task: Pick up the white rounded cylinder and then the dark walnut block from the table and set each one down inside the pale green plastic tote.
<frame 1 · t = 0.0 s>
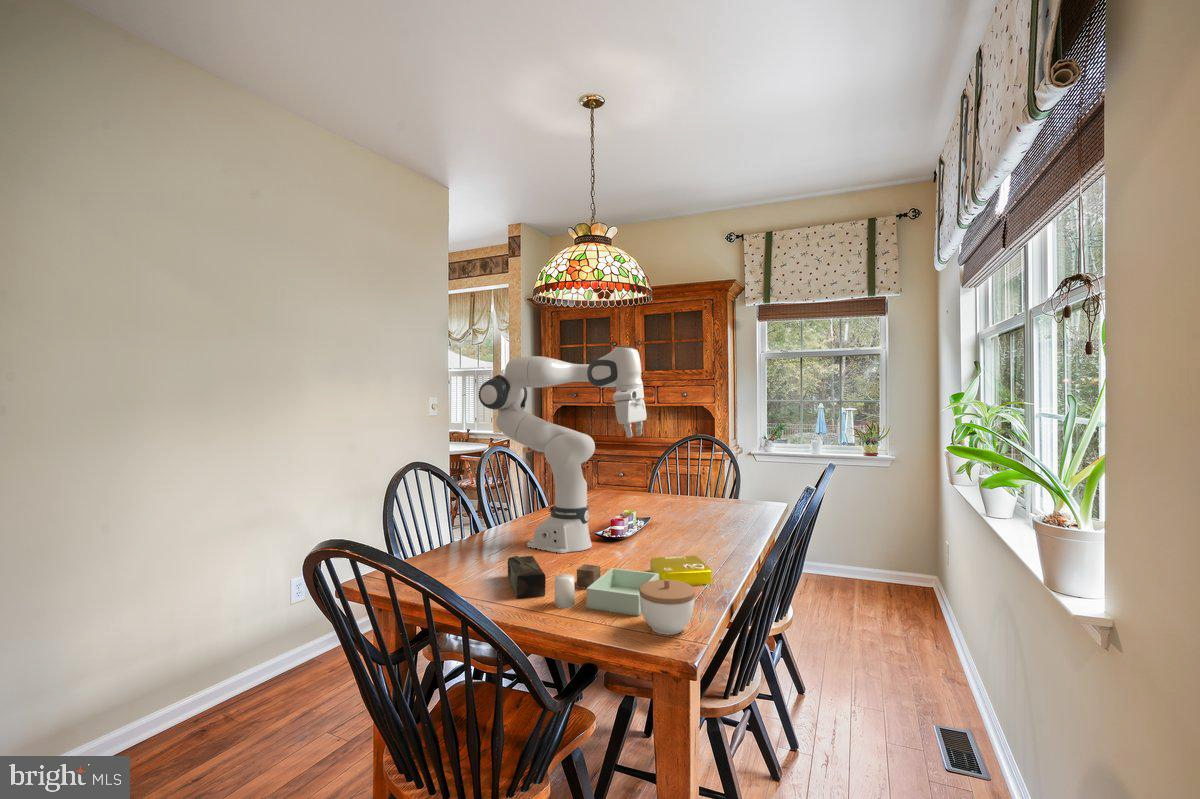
hand: (634, 436, 192), 39 cm above the table, tool pointing down, fingers open, 8 cm apart
lidded bowl: (667, 629, 133), on the table
element tile: (680, 579, 169), on the table
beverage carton: (525, 587, 161), on the table
white rounded cylinder: (564, 604, 148), on the table
walnut block: (588, 585, 162), on the table
tote: (624, 599, 151), on the table
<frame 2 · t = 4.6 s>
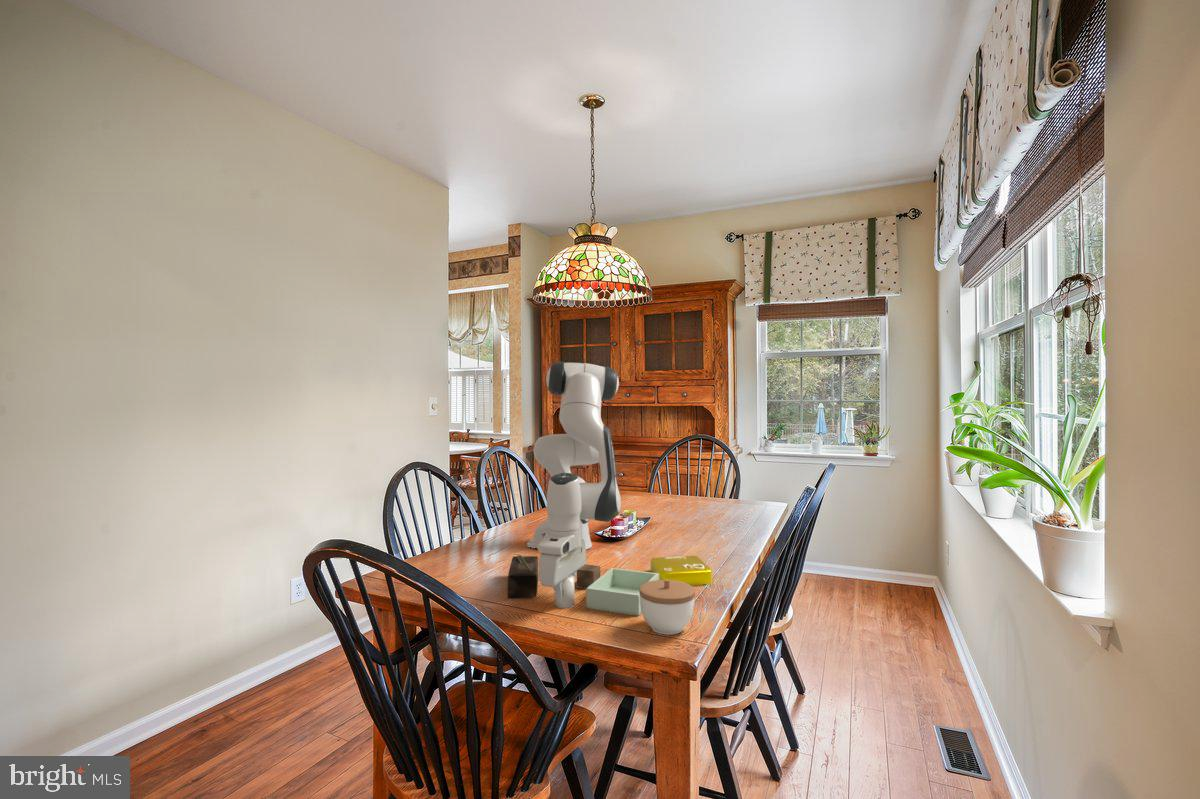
hand: (564, 593, 148), 3 cm above the table, tool pointing down, fingers closed on white rounded cylinder, 5 cm apart
white rounded cylinder: (564, 604, 148), on the table, touching gripper
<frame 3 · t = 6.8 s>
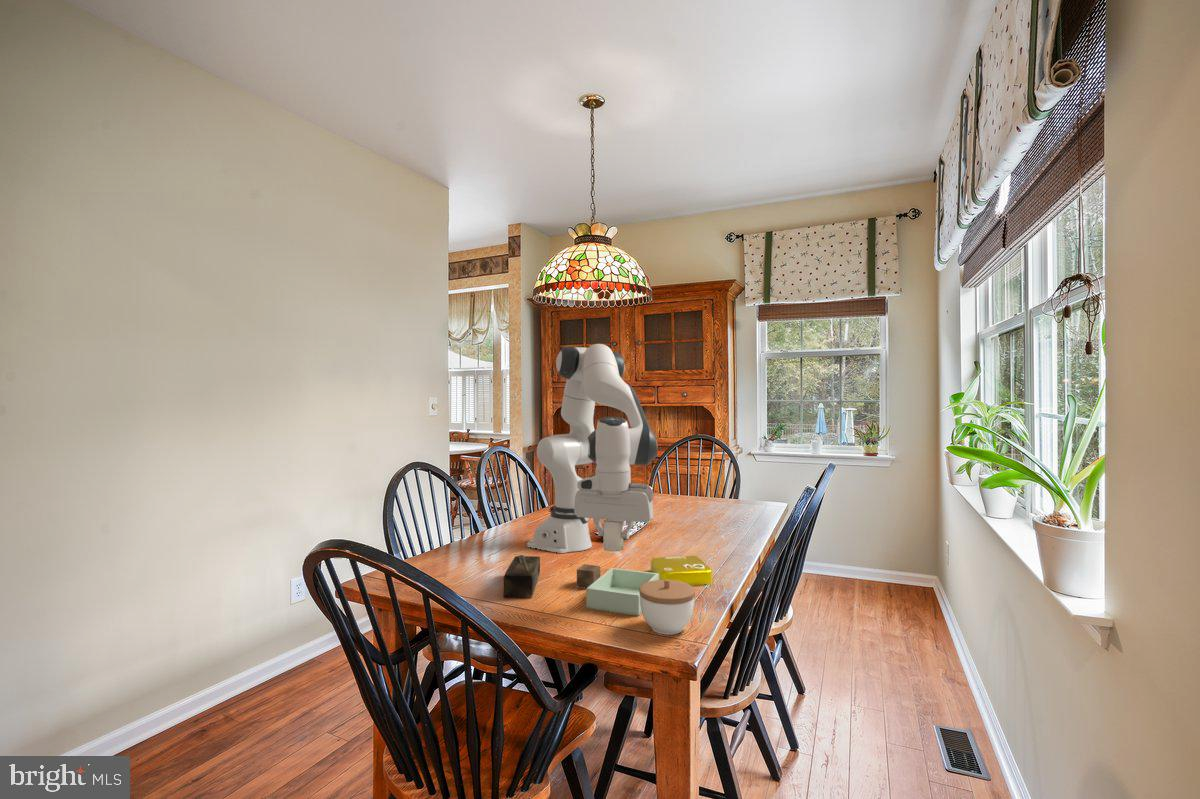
hand: (613, 537, 146), 17 cm above the table, tool pointing down, fingers closed on white rounded cylinder, 5 cm apart
white rounded cylinder: (613, 548, 146), point 14 cm above the table, touching gripper
when the fingers open (5 cm above the table, at t = 9.3 s): white rounded cylinder drops 1 cm, resting on tote.
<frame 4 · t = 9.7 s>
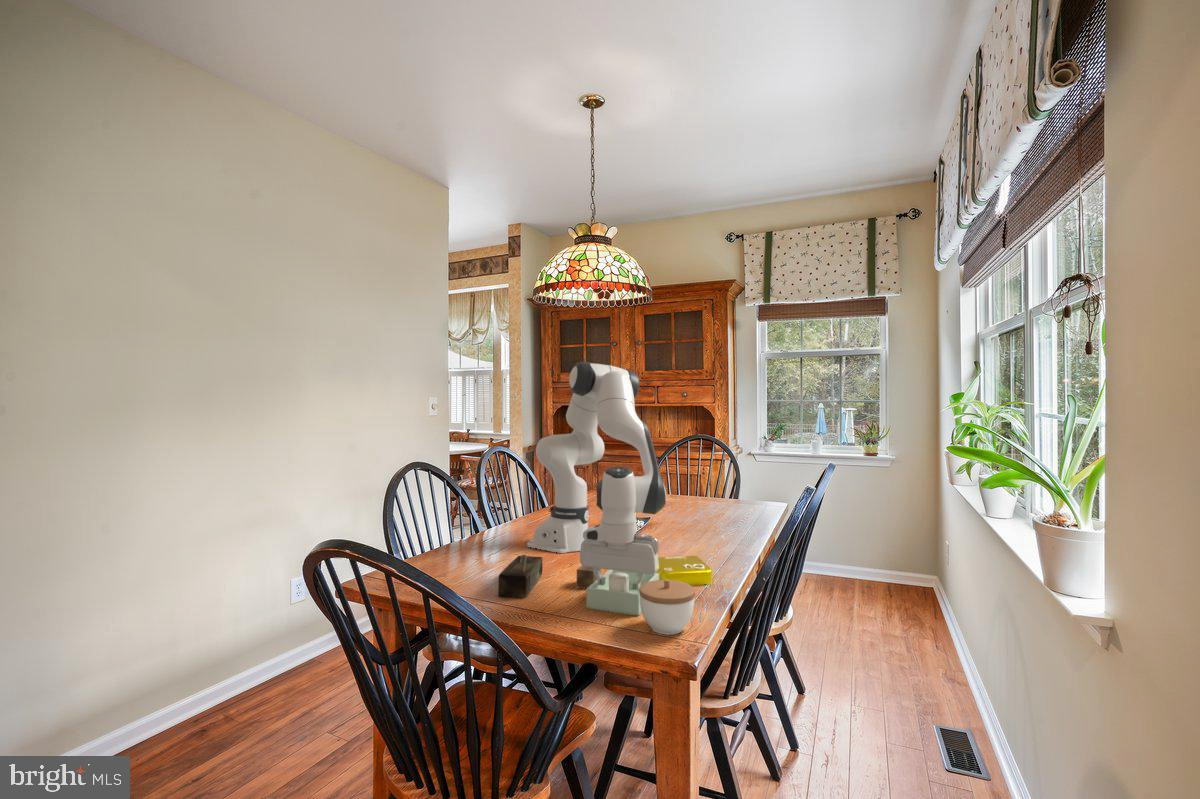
hand: (618, 587, 147), 5 cm above the table, tool pointing down, fingers open, 8 cm apart
white rounded cylinder: (618, 603, 147), point 1 cm above the table, touching tote
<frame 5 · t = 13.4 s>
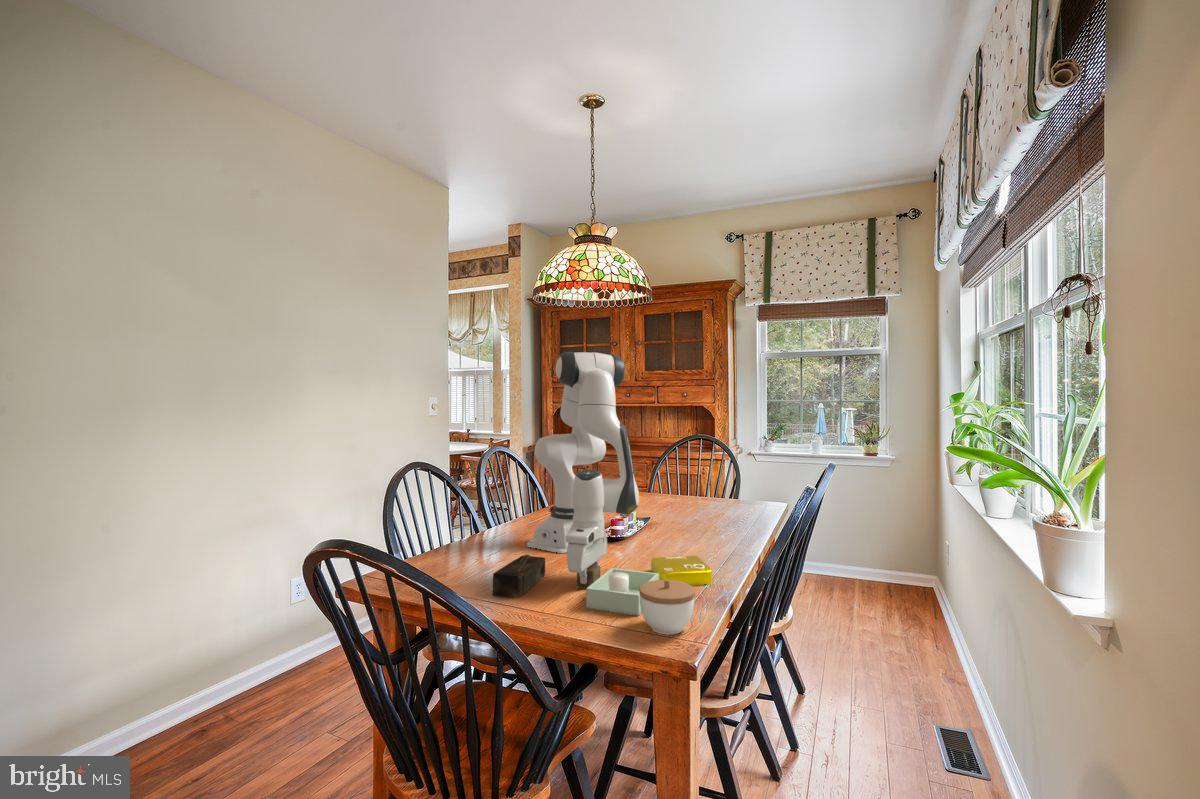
hand: (588, 579, 162), 2 cm above the table, tool pointing down, fingers closed on walnut block, 5 cm apart
walnut block: (588, 585, 162), on the table, touching gripper
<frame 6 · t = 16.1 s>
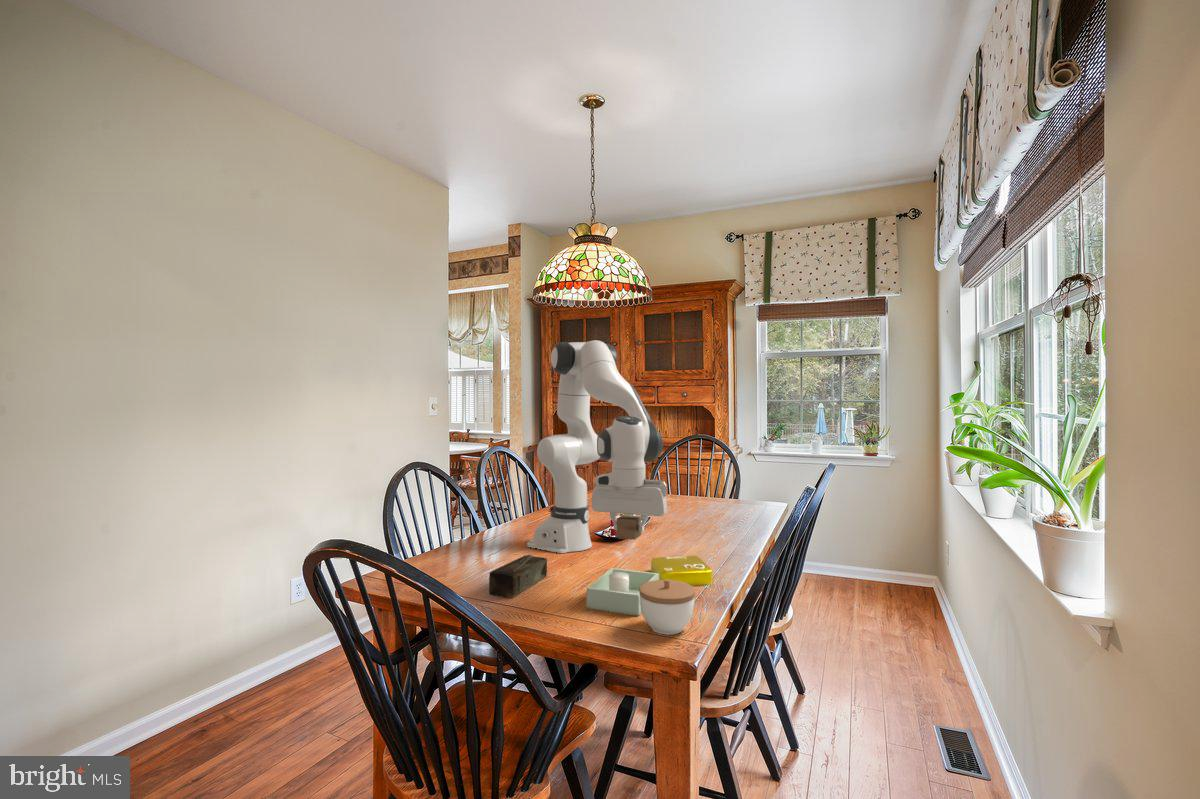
hand: (629, 530, 154), 17 cm above the table, tool pointing down, fingers closed on walnut block, 5 cm apart
walnut block: (629, 536, 154), point 16 cm above the table, touching gripper
when the fingers open (4 cm above the table, at t = 18.5 s): walnut block drops 2 cm, resting on tote.
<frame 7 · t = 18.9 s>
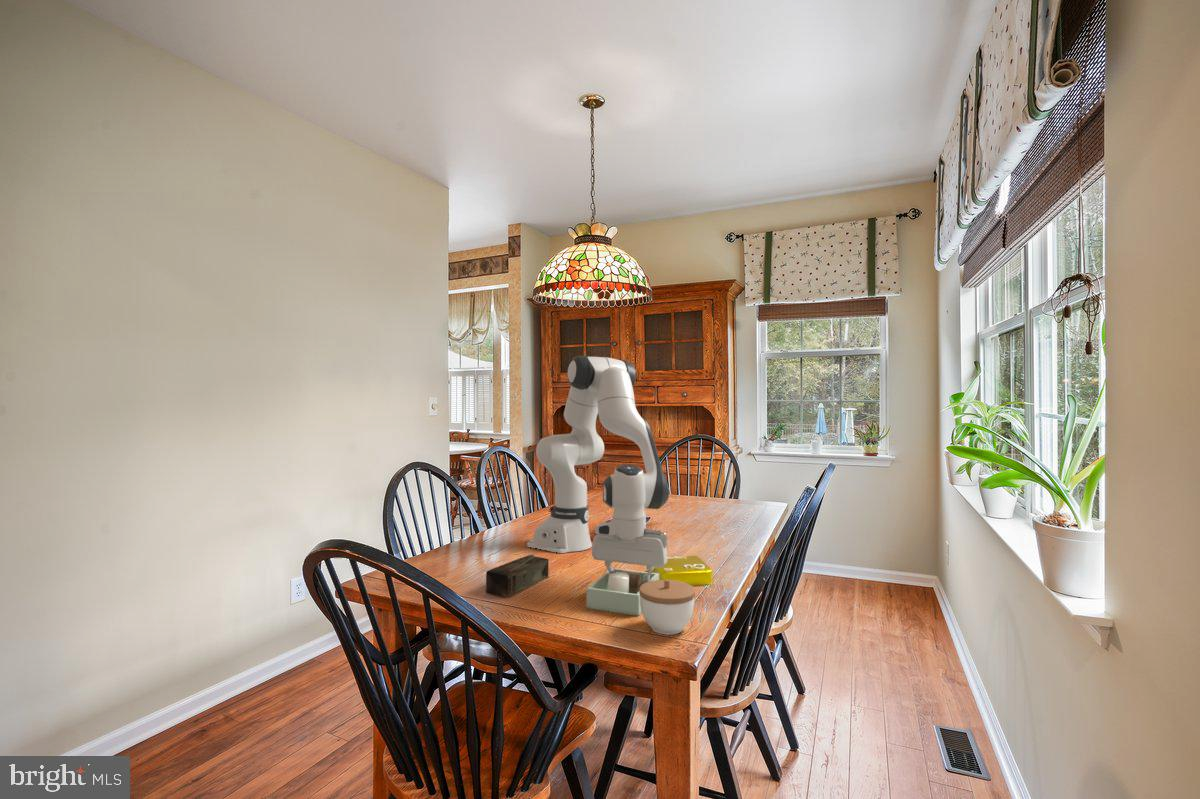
hand: (629, 579, 154), 4 cm above the table, tool pointing down, fingers open, 8 cm apart
walnut block: (629, 592, 154), resting on tote
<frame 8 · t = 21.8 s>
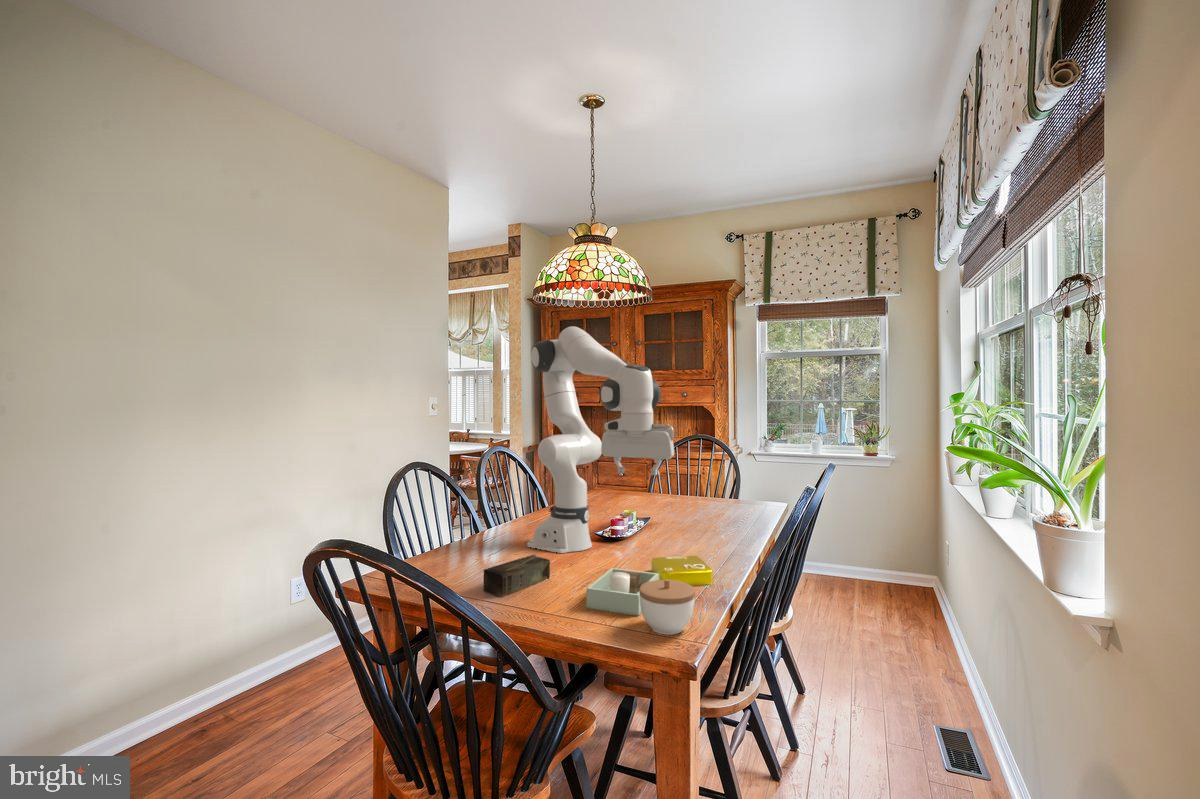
hand: (637, 474, 160), 31 cm above the table, tool pointing down, fingers open, 8 cm apart
at the end: white rounded cylinder inside the target area on the tote (4.0 cm from its centre), point 0.6 cm above the tote's base; walnut block inside the target area on the tote (4.0 cm from its centre), point 0.5 cm above the tote's base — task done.
